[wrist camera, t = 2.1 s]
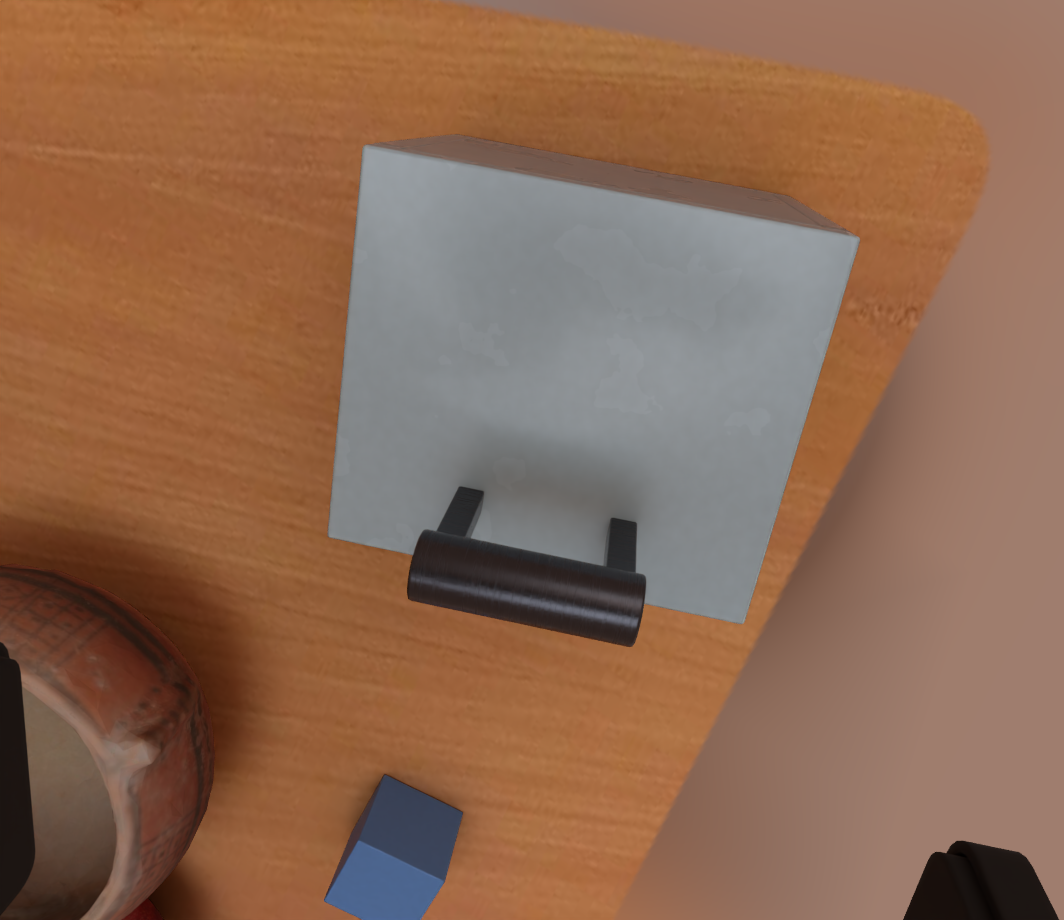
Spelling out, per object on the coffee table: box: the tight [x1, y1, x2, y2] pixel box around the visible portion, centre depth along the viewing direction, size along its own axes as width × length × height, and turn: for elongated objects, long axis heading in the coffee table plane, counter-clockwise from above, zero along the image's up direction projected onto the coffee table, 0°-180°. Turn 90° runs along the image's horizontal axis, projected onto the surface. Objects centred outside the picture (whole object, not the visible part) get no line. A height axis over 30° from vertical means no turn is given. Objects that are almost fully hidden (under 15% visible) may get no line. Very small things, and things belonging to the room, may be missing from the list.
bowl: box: [0, 564, 215, 920], centre depth 36 cm, size 16×16×10 cm
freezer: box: [374, 134, 851, 233], centre depth 27 cm, size 9×11×10 cm
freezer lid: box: [328, 144, 860, 647], centre depth 20 cm, size 10×11×5 cm
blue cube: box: [324, 775, 463, 920], centre depth 39 cm, size 4×4×4 cm
